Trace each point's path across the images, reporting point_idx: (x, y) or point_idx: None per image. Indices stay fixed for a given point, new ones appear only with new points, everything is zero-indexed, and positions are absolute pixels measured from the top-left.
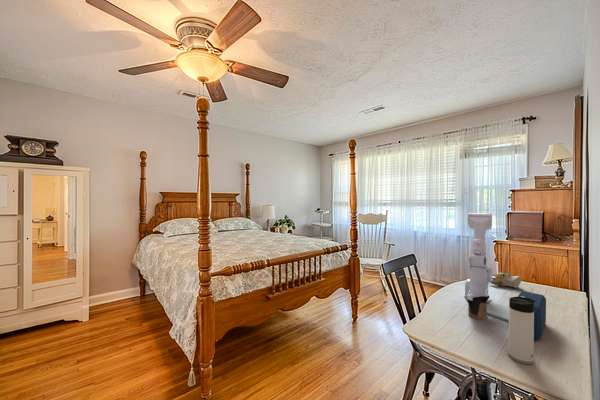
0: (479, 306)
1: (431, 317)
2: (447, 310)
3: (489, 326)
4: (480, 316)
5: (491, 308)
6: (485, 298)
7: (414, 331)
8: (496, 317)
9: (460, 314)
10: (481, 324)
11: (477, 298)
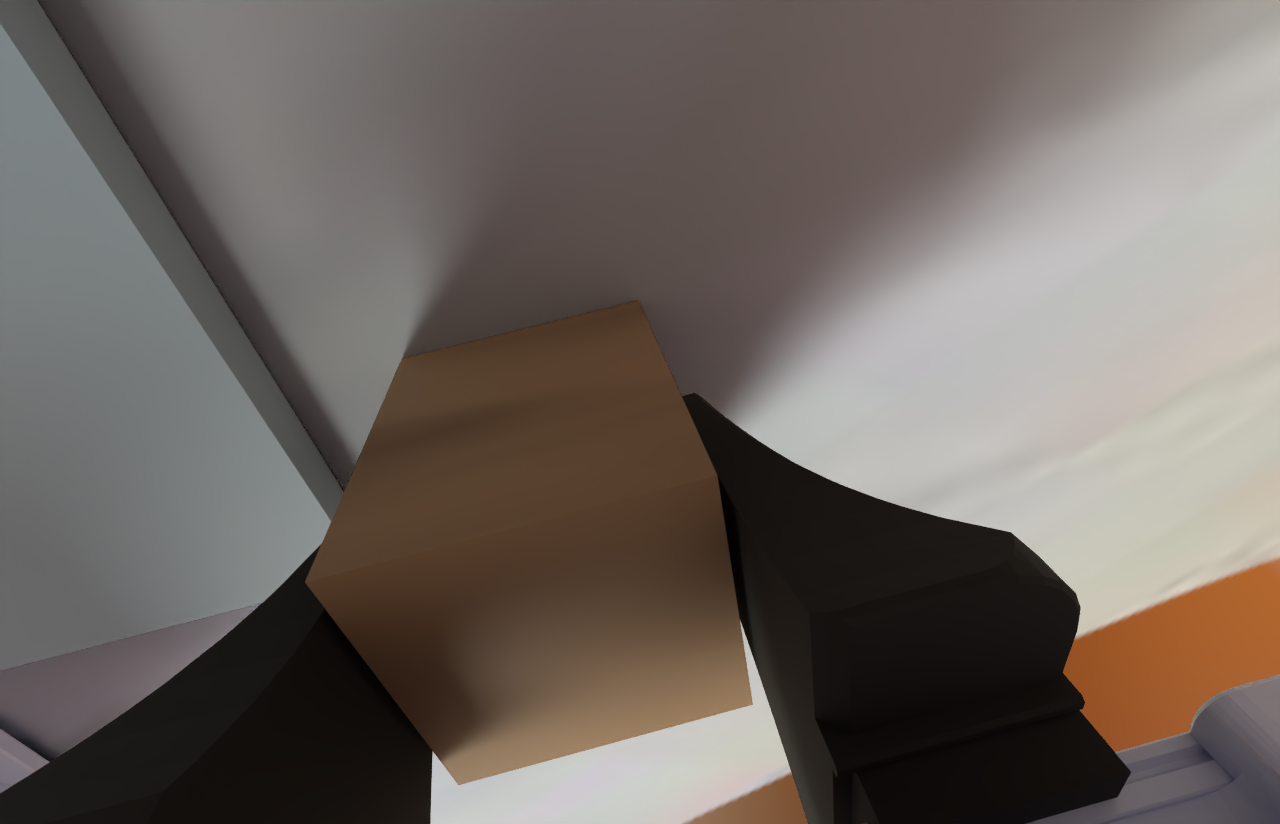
0: (715, 493)
1: (1145, 546)
2: None
3: (759, 16)
4: (652, 337)
5: (9, 550)
6: (246, 781)
7: None
8: (194, 261)
9: None
10: (814, 161)
11: (407, 807)
